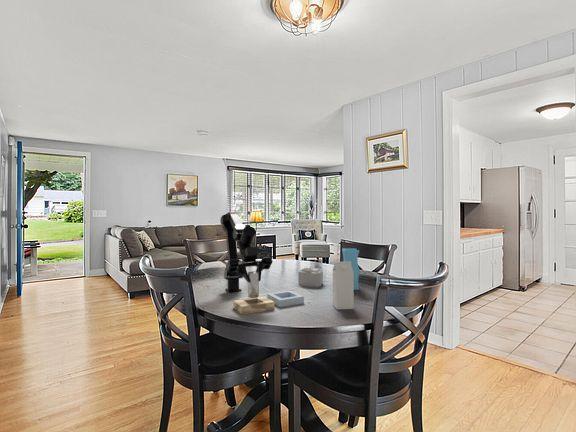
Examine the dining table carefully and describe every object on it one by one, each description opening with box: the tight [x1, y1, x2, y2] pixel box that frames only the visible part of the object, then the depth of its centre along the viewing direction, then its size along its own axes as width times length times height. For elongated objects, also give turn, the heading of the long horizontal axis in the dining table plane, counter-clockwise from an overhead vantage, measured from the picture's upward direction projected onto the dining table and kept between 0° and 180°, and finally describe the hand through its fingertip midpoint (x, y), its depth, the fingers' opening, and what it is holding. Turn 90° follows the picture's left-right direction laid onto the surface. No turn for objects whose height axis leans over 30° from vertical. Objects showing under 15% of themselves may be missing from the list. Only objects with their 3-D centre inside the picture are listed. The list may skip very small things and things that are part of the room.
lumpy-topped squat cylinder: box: [297, 266, 324, 288], centre depth 180 cm, size 10×13×9 cm
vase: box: [341, 247, 361, 291], centre depth 170 cm, size 8×8×20 cm
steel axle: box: [247, 270, 260, 298], centre depth 136 cm, size 4×4×10 cm
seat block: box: [266, 290, 305, 308], centre depth 146 cm, size 12×12×3 cm
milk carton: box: [332, 261, 355, 311], centre depth 137 cm, size 7×7×19 cm
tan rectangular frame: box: [232, 295, 276, 316], centre depth 136 cm, size 10×14×3 cm
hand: (254, 281), depth 135 cm, fingers closed on steel axle, 4 cm apart
